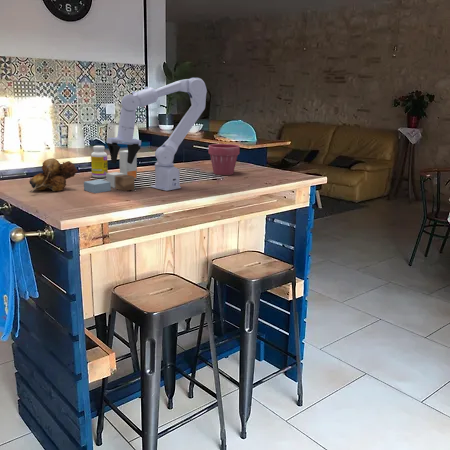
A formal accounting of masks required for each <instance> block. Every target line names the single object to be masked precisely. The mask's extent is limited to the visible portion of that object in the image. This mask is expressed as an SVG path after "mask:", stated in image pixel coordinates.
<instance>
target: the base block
mask: <svg viewBox="0 0 450 450" xmlns="http://www.w3.org/2000/svg"><path fill="white" fill-rule="evenodd" d="M83 190H84V191H85V192H88V193H92V194H99V193H105V192H111V190H112V187H111V182H108V181H106V180H103V179H93V180H87V181H83Z"/></svg>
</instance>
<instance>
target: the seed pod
mask: <svg viewBox="0 0 450 450" xmlns="http://www.w3.org/2000/svg"><path fill="white" fill-rule="evenodd" d="M59 161H60V160H57V159H56V158H53V157H51V158H47V159H46V160H44V161H43V162H42V166H41V170H42V172H39V173H36V175H34V176H33V177H31V178H29V184H30V186H31V188H32V189H31V193H32V192H34V191H35V190H37V191H45V190H46V189H48V188H49V189H50V190H52V192H58V191H62V190H65V189H66V186H67V179H71V178H72V177H75V175H77V174H76V173H78V171H79V170H78V169H77V168H76V166H75V164H74V163H72V162H71V161H70V160H69V161H68V160H66V161H65V162H62V163H60V162H59Z"/></svg>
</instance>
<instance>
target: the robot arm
mask: <svg viewBox="0 0 450 450" xmlns="http://www.w3.org/2000/svg"><path fill="white" fill-rule="evenodd" d="M143 88H144V89H140V90H138V91H131V93H132V94H130V93H129V94H128V93H127V94H125V95H124V96H122V99H121V101H120V104H121V108H120V114H119V121H118V129H117V136H116V137H107V140H106V146H107V149H108V150H109V154H110V162H111V164H117V161H118V155H119V151H120V149H121V145H127V150H128V159H127V163H130V164H132V163H133V160H134V158H135V156H136V154H138V152H139V151H141V150H140V149H141V145H142V139H141V140H140V139H136V138H134V132H135V125H136V112H137V111H136V110H137V108H142V107H146V106H148V105H151V104H153V103H154V104H155V103H157V101H158V99H159V98H160V97H163V96H166V95H171V94H173V93H177V92H184V93H187V94H188V96H189V100H190V104H191V106H190V107H189V109H188V110H187V111H186V112H185V114H184V115H183V116H182V118H181V120H180V121H179V123H178V124H177V126H175V129H174V130H173V132H172V133H171V134H170V135H169V137H168V139H166V141H164V143H163V144H162V145H161V146H159V147H157V148H156V150H155V153H154V156H155V158H156V160H157V161H156V162H155V163H154V178H155V179H154V181H155V182H154V184H153V185H150V187H149V188H153V189H157V190H161V191H162V190H163V191H166V192H168V191H171V190H172V191H173V190H178V189H181V188H182V186H180V185H181V184H180V178H181V177H180V176H181V175H180V172H181V171H180V169H179V168H178V167H175V164H174V159H175V154H176V153H177V151H178V149H179V147H180V145H181V144H182V142H183V140H185V138H186V136H187V135H188V133H189V132H190V131H191V129H192V128H193V126H194V125H195V124H196V123H197V121H198V119H199V118H200V117H201V115H202V114H203V112H204V111H205V109H206V103H207V102H206V101H207V100H206V99H207V92H208V89H207V86H206V83H205V81H204V80H203V79H202V78H200V77H190V78H185V79H180V80H176V81H174V82H171V83H168V84H166V85H163V86H161V87H158V88H154V87H153V86H149V87H148V86H145V87H143Z"/></svg>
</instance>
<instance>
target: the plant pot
mask: <svg viewBox="0 0 450 450" xmlns="http://www.w3.org/2000/svg"><path fill="white" fill-rule="evenodd" d="M240 149H241V148H240V145H239V144H234V143H233V144H231V143H214V144H209V145H208V150H207V151H208V154H209V155H210V161H211V165H212V172H213V174H214V175H219V176H231V175H234V173H235V167H236V163H237V161H238V155H240Z"/></svg>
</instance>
